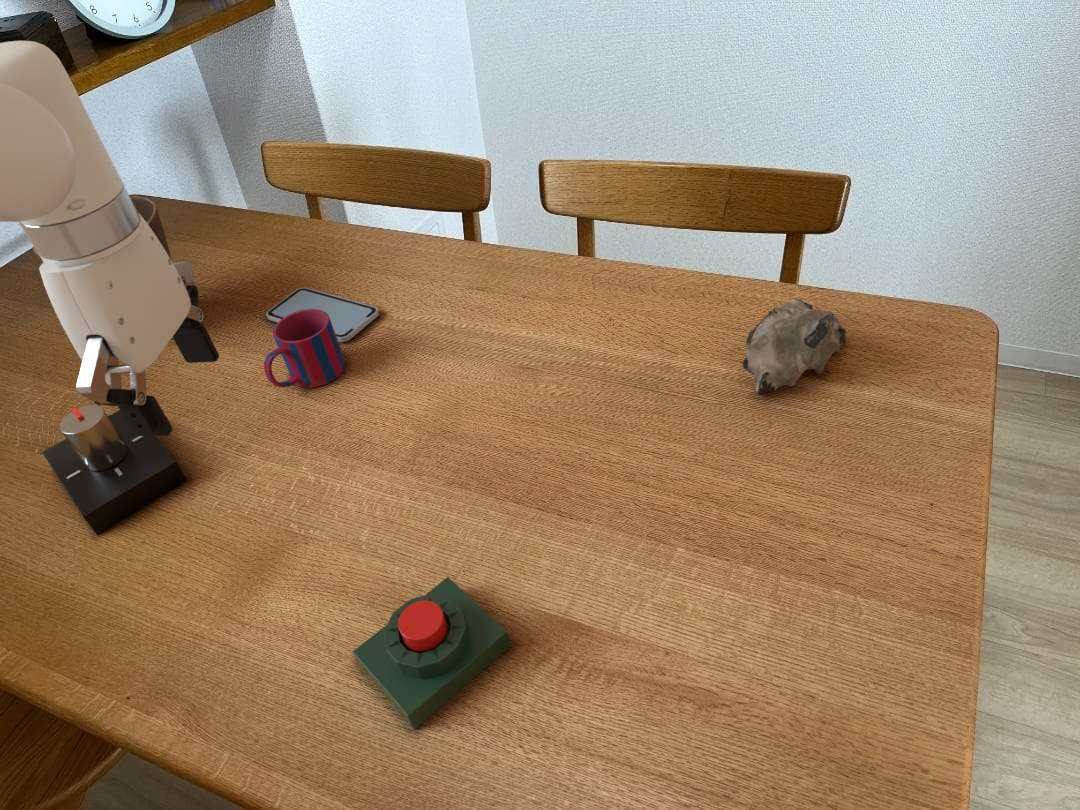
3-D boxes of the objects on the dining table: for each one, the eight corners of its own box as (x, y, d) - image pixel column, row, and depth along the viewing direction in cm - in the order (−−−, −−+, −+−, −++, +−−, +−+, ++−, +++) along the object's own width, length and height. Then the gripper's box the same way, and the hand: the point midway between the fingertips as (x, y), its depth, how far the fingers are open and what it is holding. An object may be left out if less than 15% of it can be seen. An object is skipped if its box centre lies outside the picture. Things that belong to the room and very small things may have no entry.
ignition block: (414, 730, 62) (402, 704, 60) (359, 665, 67) (345, 639, 64) (511, 646, 67) (503, 618, 64) (452, 591, 72) (443, 563, 69)
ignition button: (420, 660, 63) (415, 648, 61) (394, 632, 65) (389, 620, 64) (456, 630, 64) (452, 618, 63) (430, 604, 66) (425, 592, 65)
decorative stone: (770, 309, 95) (796, 242, 87) (845, 340, 92) (879, 274, 84) (718, 396, 86) (743, 330, 78) (800, 434, 83) (834, 370, 75)
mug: (357, 363, 99) (341, 318, 94) (294, 411, 93) (273, 365, 89) (322, 347, 102) (304, 302, 98) (259, 392, 97) (238, 348, 92)
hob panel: (188, 480, 87) (175, 460, 85) (97, 535, 82) (82, 515, 80) (140, 423, 95) (127, 403, 93) (55, 470, 91) (40, 450, 89)
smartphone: (301, 285, 113) (381, 308, 105) (303, 291, 113) (382, 313, 106) (262, 314, 108) (343, 339, 101) (264, 319, 109) (345, 345, 102)
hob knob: (134, 454, 86) (108, 414, 83) (94, 477, 85) (65, 437, 81) (119, 436, 89) (93, 396, 85) (80, 457, 87) (52, 418, 83)
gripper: (97, 173, 67) (184, 337, 78) (-33, 291, 54) (92, 466, 66) (180, 166, 66) (255, 334, 77) (66, 286, 53) (176, 465, 64)
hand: (180, 395), depth 71 cm, fingers open, 9 cm apart
